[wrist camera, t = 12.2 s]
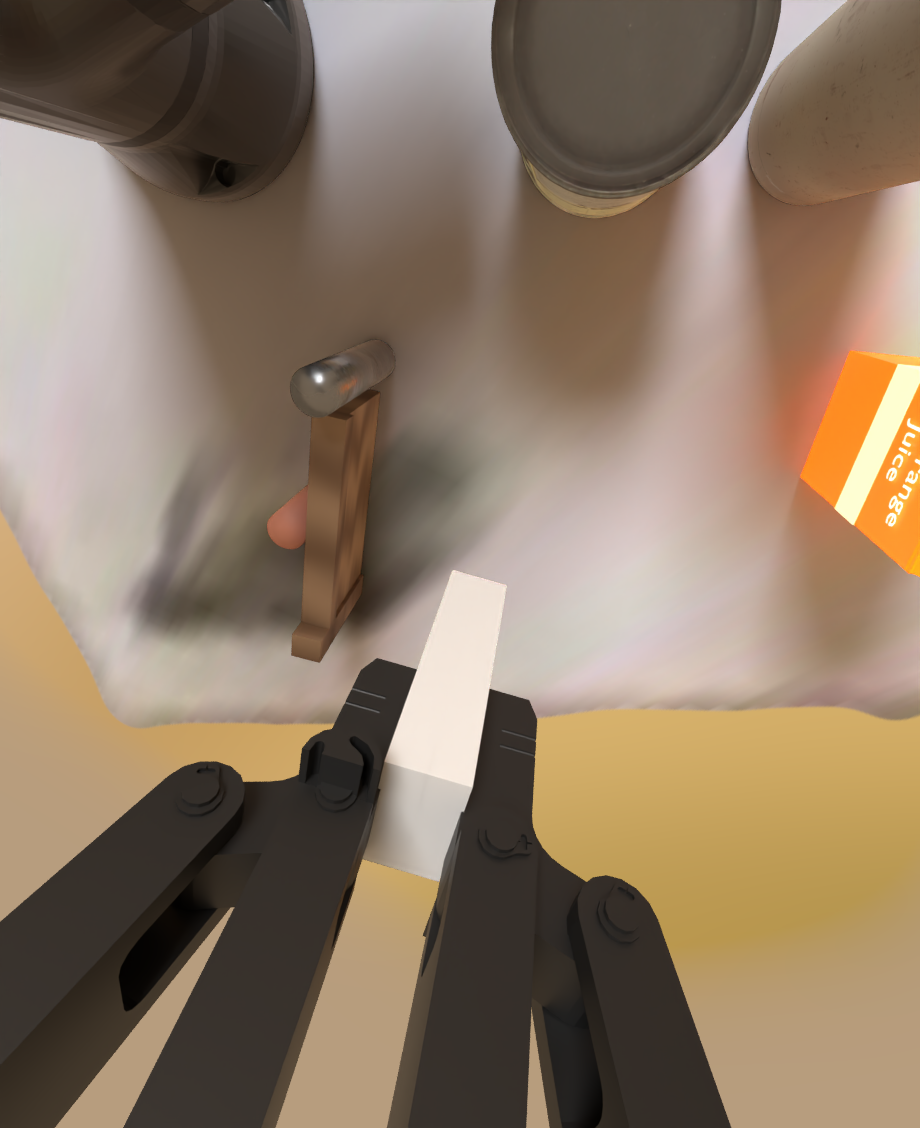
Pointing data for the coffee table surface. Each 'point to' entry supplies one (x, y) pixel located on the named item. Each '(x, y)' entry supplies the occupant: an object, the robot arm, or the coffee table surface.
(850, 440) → the orange juice
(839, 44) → the thermos bottle
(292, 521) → the latch post
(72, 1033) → the robot arm
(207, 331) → the coffee table surface
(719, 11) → the coffee can
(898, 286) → the coffee table surface
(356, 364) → the hinge post
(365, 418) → the gate
